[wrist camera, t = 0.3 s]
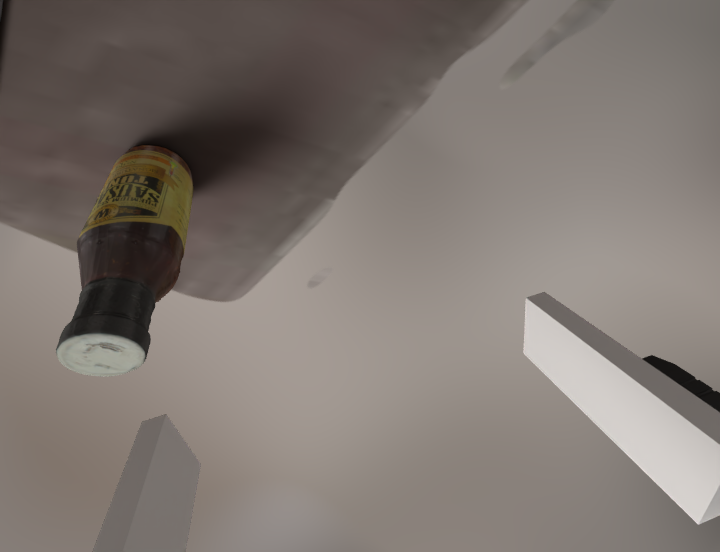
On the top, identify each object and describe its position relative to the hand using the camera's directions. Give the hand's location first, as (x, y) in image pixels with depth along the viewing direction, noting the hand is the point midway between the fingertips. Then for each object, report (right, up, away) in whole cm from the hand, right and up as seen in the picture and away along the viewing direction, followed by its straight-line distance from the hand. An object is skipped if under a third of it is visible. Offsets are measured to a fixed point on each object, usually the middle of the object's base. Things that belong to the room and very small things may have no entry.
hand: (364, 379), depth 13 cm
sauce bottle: (-19, +13, +20) cm, 30 cm away
